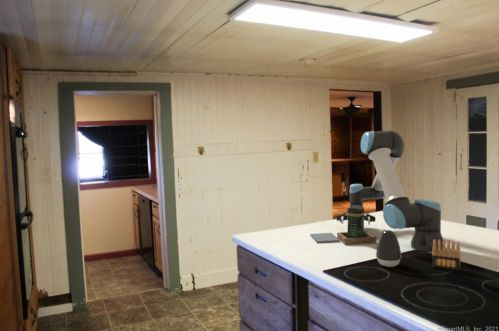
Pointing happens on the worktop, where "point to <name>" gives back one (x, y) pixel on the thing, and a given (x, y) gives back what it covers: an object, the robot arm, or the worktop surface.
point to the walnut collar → (356, 239)
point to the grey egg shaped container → (388, 249)
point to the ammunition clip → (446, 255)
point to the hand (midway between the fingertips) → (355, 221)
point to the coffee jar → (355, 221)
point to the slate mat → (324, 237)
